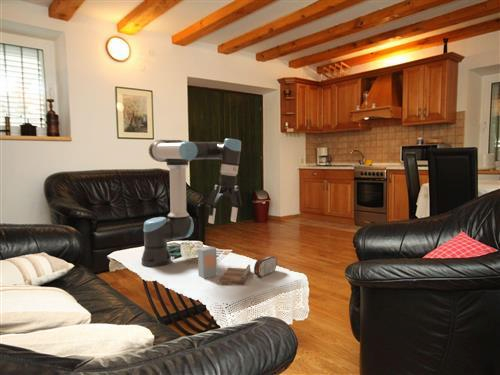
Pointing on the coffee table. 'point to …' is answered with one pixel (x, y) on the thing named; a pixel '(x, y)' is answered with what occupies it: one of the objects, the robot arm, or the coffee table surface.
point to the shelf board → (233, 276)
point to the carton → (207, 262)
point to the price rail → (245, 273)
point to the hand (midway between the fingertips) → (222, 222)
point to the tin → (265, 265)
